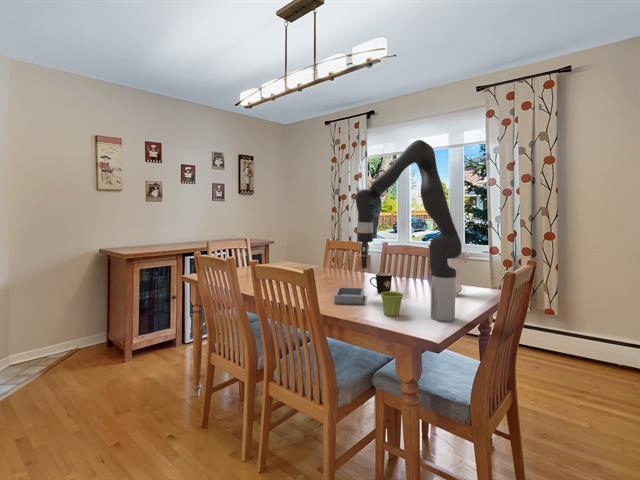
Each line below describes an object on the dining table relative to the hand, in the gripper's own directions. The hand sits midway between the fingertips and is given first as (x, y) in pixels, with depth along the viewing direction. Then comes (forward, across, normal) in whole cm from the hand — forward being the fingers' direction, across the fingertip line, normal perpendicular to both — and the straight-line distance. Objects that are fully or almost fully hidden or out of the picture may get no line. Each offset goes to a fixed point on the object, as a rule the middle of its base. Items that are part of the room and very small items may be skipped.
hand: (364, 266), depth 171 cm
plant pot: (+16, -23, -13) cm, 31 cm away
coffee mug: (+16, +15, -8) cm, 24 cm away
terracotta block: (+1, 0, 0) cm, 1 cm away
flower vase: (+16, +18, -44) cm, 50 cm away
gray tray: (+16, -2, +7) cm, 18 cm away
